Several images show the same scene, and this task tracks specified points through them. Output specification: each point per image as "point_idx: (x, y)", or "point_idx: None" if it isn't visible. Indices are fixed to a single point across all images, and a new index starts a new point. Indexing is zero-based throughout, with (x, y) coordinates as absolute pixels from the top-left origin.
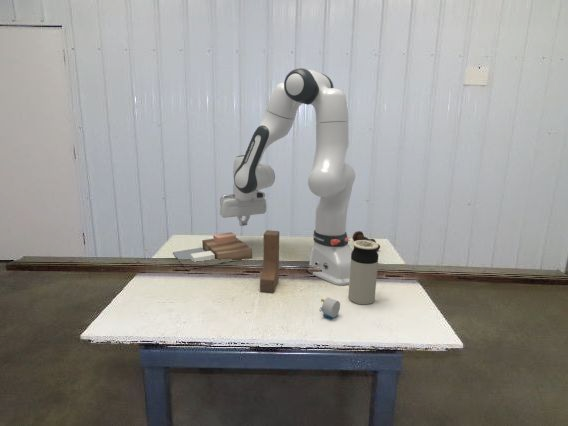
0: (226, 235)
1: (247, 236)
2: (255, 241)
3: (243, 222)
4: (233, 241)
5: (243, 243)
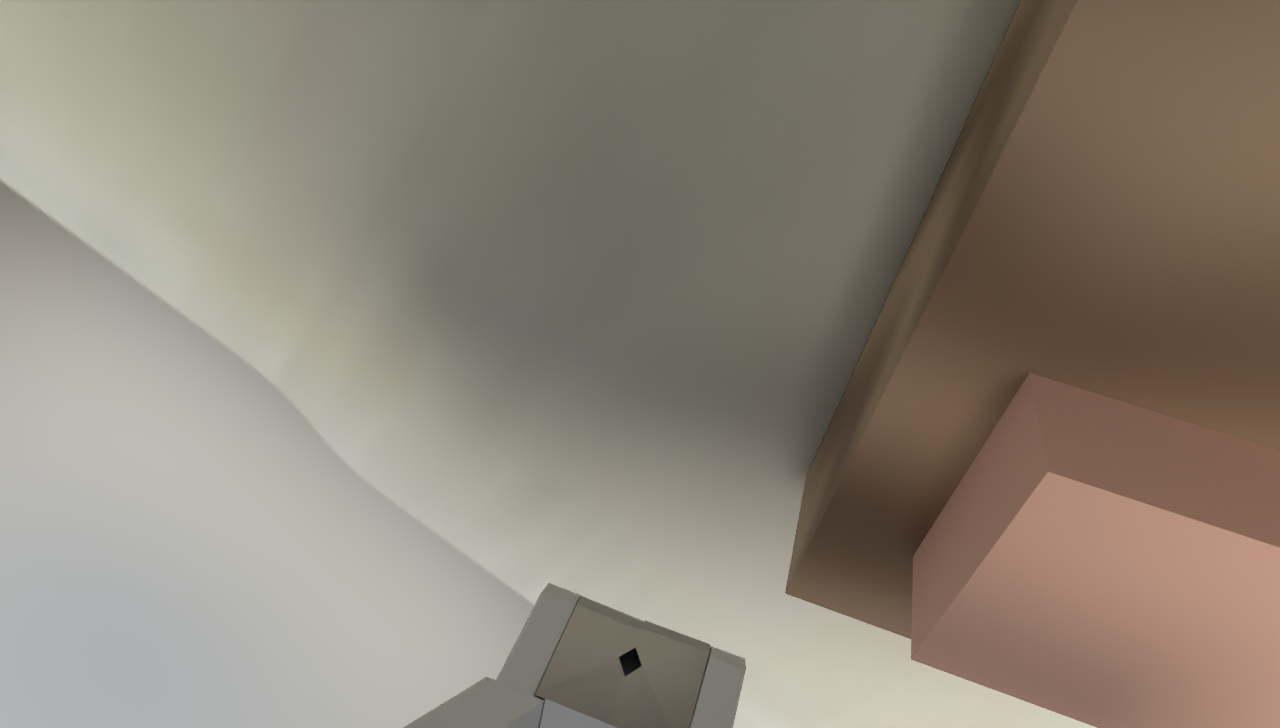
0: (1234, 622)
1: (455, 529)
2: (459, 340)
3: (642, 718)
4: (1095, 394)
5: (1069, 99)
